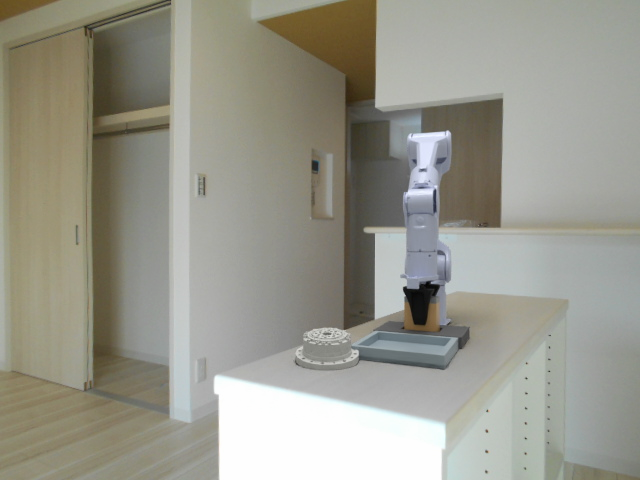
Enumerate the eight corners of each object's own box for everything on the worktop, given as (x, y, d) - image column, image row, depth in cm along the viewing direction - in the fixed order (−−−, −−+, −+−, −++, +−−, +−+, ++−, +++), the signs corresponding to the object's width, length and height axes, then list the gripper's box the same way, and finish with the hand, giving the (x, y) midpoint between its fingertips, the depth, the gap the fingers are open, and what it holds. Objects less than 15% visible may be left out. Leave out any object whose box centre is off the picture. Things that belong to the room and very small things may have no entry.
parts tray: (375, 341, 85) (375, 330, 85) (458, 349, 79) (458, 337, 79) (349, 358, 73) (349, 345, 73) (444, 369, 67) (444, 355, 67)
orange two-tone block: (408, 335, 89) (408, 294, 89) (439, 338, 87) (439, 296, 87) (404, 338, 87) (404, 296, 87) (436, 341, 84) (436, 298, 84)
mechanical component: (288, 371, 68) (355, 376, 66) (288, 343, 67) (355, 346, 66) (303, 348, 78) (361, 351, 76) (302, 322, 77) (361, 325, 75)
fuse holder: (389, 330, 95) (389, 320, 95) (469, 337, 88) (469, 327, 88) (373, 340, 86) (373, 329, 86) (461, 348, 79) (461, 337, 79)
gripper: (410, 250, 95) (410, 315, 95) (390, 252, 82) (390, 328, 82) (445, 250, 92) (445, 317, 92) (429, 253, 79) (430, 331, 79)
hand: (422, 323), depth 87 cm, fingers closed on orange two-tone block, 3 cm apart
